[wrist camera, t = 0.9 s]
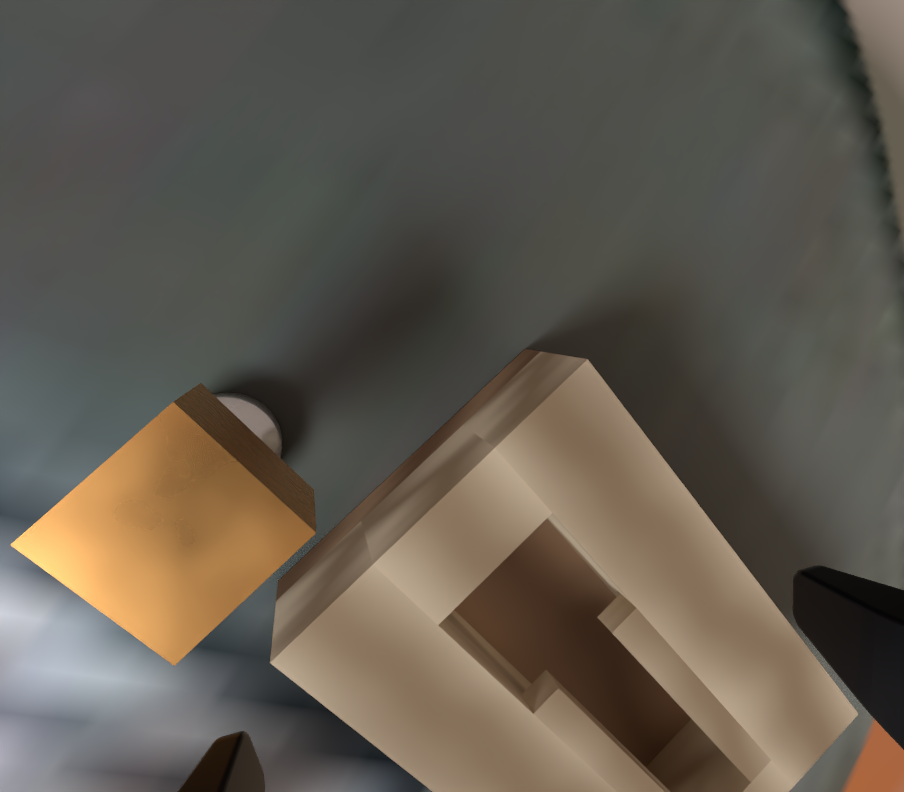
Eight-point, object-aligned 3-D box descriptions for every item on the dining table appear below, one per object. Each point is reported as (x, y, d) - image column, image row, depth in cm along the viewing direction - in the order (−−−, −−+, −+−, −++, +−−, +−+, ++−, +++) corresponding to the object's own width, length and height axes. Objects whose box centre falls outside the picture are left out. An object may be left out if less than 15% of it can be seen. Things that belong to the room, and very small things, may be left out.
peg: (228, 519, 20) (174, 665, 11) (140, 442, 18) (10, 544, 10) (311, 442, 20) (316, 532, 12) (230, 363, 19) (172, 402, 11)
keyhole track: (579, 838, 26) (641, 956, 21) (278, 580, 20) (269, 662, 16) (761, 643, 27) (858, 714, 22) (524, 348, 22) (587, 359, 17)
